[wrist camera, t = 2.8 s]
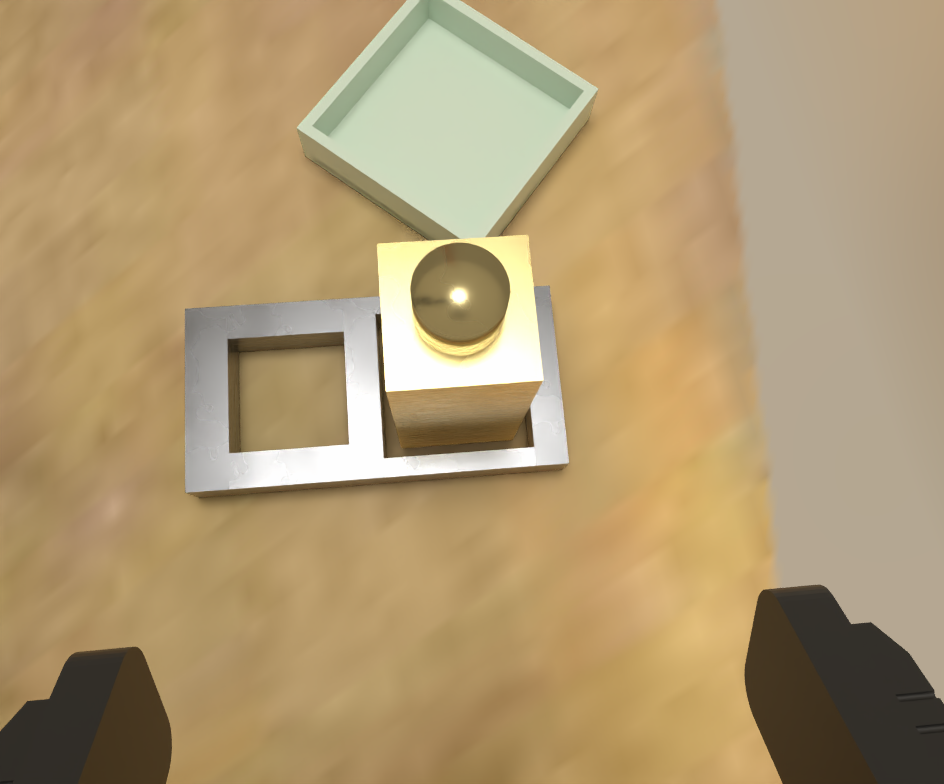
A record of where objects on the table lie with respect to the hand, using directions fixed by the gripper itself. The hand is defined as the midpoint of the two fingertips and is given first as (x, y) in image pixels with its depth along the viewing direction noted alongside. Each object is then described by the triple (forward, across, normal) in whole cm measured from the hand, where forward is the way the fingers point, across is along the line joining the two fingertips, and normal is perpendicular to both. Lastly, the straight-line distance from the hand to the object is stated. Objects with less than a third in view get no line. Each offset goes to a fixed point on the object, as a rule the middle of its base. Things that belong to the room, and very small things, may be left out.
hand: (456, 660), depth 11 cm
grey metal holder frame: (+24, +3, +10) cm, 26 cm away
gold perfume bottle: (+24, -1, +10) cm, 26 cm away
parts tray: (+33, -2, +1) cm, 33 cm away
